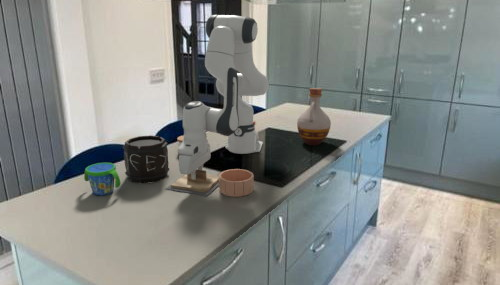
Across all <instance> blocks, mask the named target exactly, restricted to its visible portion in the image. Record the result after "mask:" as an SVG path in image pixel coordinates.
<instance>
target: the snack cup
mask: <svg viewBox="0 0 500 285" xmlns="http://www.w3.org/2000/svg"><path fill="white" fill-rule="evenodd" d="M83 178H84V181H85V182H88V183H89V185H90V188H91V191H92V194H93V195H96V196H101V197H102V196H105V195H109V194H112V192H114V189H115V188H116V189H117V188H119V187H120V185H121V180H120V176H119V174H118V172H117V165H115V163H112V162H97V163H94V164H91V165H90V164H89V165H88V166H87V167H85V169H84V176H83Z"/></svg>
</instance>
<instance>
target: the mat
mask: <svg viewBox="0 0 500 285" xmlns="http://www.w3.org/2000/svg"><path fill="white" fill-rule="evenodd" d="M184 175H185V174H182V176H184ZM180 178H181V177H179V178H178V179H180ZM178 179H177V180H178ZM177 180H175V181H174V182H176V181H177ZM174 182H172V183H171V184H173V183H174ZM171 184H169V186H167V187H166V188H165V190H166V191H167V190H168V191H174V192H178V193H179V192H180V193H185V194H186V193H187V194H193V195H199V196H203V197H205V196H206V197H208V196H209V195H211V194H212V193H213V192H214V191H215V190H216V189H217V188H219V181H218V182H217V183H216V184H215V185H214V186H213V187H212V188H210V189H209V190H208V191H207V192H206V193H204V192H198V191H192V190H185V189H179V188H172V187H171Z"/></svg>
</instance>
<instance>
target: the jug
mask: <svg viewBox="0 0 500 285" xmlns="http://www.w3.org/2000/svg"><path fill="white" fill-rule="evenodd" d="M308 89H309V94H308V95H309V96H308V97H309V99H310V105H309V107H308V108H307V109H306V110H304V111H303V112H302V113H301V114H300V115H299V117H298V118H297V122H296V124H297V131H298V135H299V137H300V138H301V139H302V141H303V142H304V143H305V144H306V145H308V146H319V145H321V143H323V142H324V140H325V139H326V138H327V137H328V134H329V133H330V130H331V124H332V122H331V119H330V116H328V115H327V113H326V112H325V111H324V110H323V109H322V108H321V106H320V101H321V97H322V91H323V88H319V87H317V88H316V87H310V88H308Z"/></svg>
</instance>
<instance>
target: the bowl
mask: <svg viewBox="0 0 500 285" xmlns="http://www.w3.org/2000/svg"><path fill="white" fill-rule="evenodd" d="M218 176H219V186H218V189H219V192H220V194H222V195H224V196H227V197H229V198H233V197H234V198H240V197H242V198H243V197H246V196H249V195H251V194H252V193H253V192H254V187H255V186H254V184H255V176H254V173H253V172H252V171H250V170H247V169H242V168H241V169H240V168H234V169H233V168H231V169H227V170H223V171H221V172H220V173H219V174H218Z"/></svg>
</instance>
